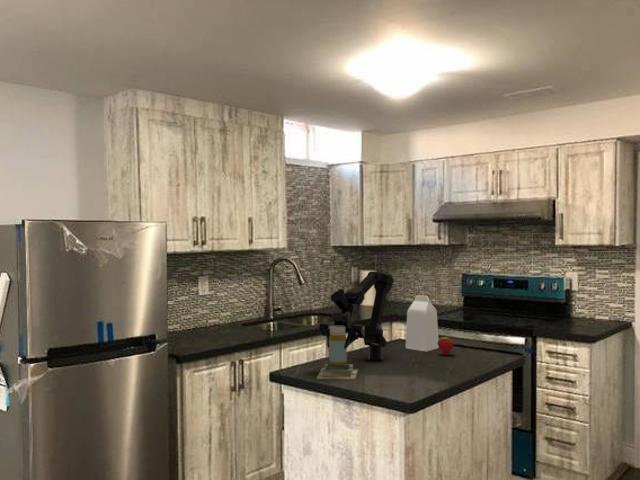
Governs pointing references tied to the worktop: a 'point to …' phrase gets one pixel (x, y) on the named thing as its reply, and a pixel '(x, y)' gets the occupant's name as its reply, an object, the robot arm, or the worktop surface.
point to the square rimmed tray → (338, 372)
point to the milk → (422, 325)
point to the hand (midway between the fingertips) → (336, 347)
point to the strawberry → (445, 345)
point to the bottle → (337, 345)
